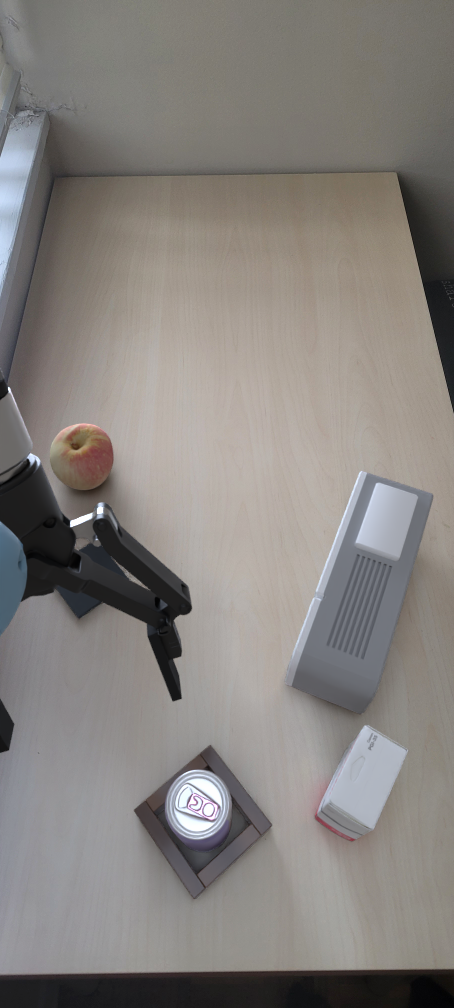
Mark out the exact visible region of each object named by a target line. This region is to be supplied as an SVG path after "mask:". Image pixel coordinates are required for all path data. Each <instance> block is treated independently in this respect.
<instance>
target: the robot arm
mask: <svg viewBox="0 0 454 1008" xmlns="http://www.w3.org/2000/svg"><path fill="white" fill-rule="evenodd" d="M33 446H34V443H33V440H32V438H31V436H30V434H29V431H28V429H27V426H26V424H25V422H24V419H23V417H22V413H21V411H20V409H19V407H18V404H17V402H16V400H15V397H14V395H13V392H12V389H11V388H10V387H9V385H8V382H7V381H6V378H5V374H4V373H3V369H2V368H1V366H0V637H1V636H2V635H3V633H4V632H5V631H6V629H7V628H8V626H9V625H10V624H11V622H12V621H13V619H14V617H15V615H16V613H17V611H18V609H19V607H20V605H21V603H23V602H24V601H26V600H27V599H29V598H31V597H42V596H43V597H44V596H48V595H50V594H54V593H55V590H56V588H57V587H58V586H60V587H63V588H65V589H67V590H69V591H71V592H73V593H76V594H78V593H84V594H86V595H88V596H90V597H92V598H95V599H97V600H99V601H101V602H102V604H105V605H107V606H109V607H111V608H113V609H115V610H117V611H119V612H122V613H123V614H126V615H128V616H130V617H132V618H134V619H136V620H138V621H140V622H142V623H145V624H146V637H147V639H148V642H149V645H150V647H151V650H152V652H153V656H154V658H155V661H156V662H157V665H158V668H159V670H160V673H161V675H162V679H163V681H164V683H165V686H166V689H167V691H168V693H169V696H170V699H171V702H173V703H174V702H177V701H180V700H183V695H182V686H181V679H180V674H179V671H178V668H177V665H176V663H175V659H178V658H181V657H183V646H182V639H181V636H180V633H179V630H178V627H177V625H176V622H175V620H176V619H177V618H178V617H179V616H187V615H189V614H190V613H191V612H193V611H192V610H193V604H192V599H191V594H190V593H191V591H190V587H189V585H188V584H187V583H185V582H184V580H182V579H181V578H180V577H179V576H178V575H176V574H175V573H174V572H173V571H172V570H171V569H170V568H168V567H167V566H166V565H165V564H164V563H163V562H162V561H161V560H160V559H158V557H156V556H155V555H154V554H153V553H151V551H150V550H148V549H147V548H146V547H145V546H144V545H143V544H141V543H140V542H139V541H138V539H136V538H135V537H133V535H132V534H130V533H129V532H128V531H127V530H126V529H124V528H123V526H121V524H120V522H119V520H118V517H117V516H116V513H115V511H114V510H113V508H112V506H111V505H110V504H109V503H107V502H105V501H104V502H98V503H97V504H95V506H94V508H93V512H90V513H87V514H85V515H82V516H80V517H78V518H76V519H72V520H71V519H70V518H69V517H67V515H65V514H64V512H63V511H62V509H61V508H60V505H59V503H58V500H57V498H56V495H55V493H54V491H53V488H52V486H51V483H50V480H49V478H48V475H47V474H46V471H45V469H44V466H43V464H42V461H41V459H40V458H39V457H38V456H37V455H35V454H33V453H31V452H32V450H33ZM79 539H85V540H87V541H88V542H89V543H92V544H93V545H94V546H96V547H99V546H101V545H102V546H103V548H104V549H105V551H106V552H107V553H108V554H109V555H110V556H111V557H112V559H113V560H114V561H115V562H116V563H117V564H118V565H120V566H121V567H122V568H123V569H124V570H125V571H127V572H128V573H129V574H130V575H132V577H134V578H135V579H136V580H137V581H139V583H141V584H142V585H143V586H142V585H141V584H139V583H136V582H134V581H132V580H130V578H129V579H127V578H125V577H123V576H121V575H119V574H117V573H115V572H113V571H111V570H109V569H107V568H105V567H103V566H101V565H99V564H97V563H95V562H93V561H92V560H91V559H90V557H89V556H88V555H86V554H84V553H82V552H80V551H79V549H76V545H77V540H79ZM68 566H69V567H70V568H71V569H72V570H71V569H69V568H68ZM14 729H15V722H14V720H13V719H12V717H11V715H10V713H9V711H8V709H7V708H6V706H5V704H4V702H3V700H2V699H1V698H0V754H2V753H5V752H9V751H10V748H11V744H12V739H13V734H14Z"/></svg>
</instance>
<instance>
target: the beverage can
mask: <svg viewBox="0 0 454 1008" xmlns="http://www.w3.org/2000/svg"><path fill="white" fill-rule="evenodd" d="M164 814H165V819H166V821H167V824H168V826H169V828H170V829H171V831H172V833H174V835H175V836H176V837H177V838H178V839H179V840H180V841H181V842H182V843H183V845H185V846H186V847H187V848H188V849H190V850H192V851H194V852H198V853H207V852H212V851H214V850H216V849H218V848H219V847H221V846H222V845H223V844H224V842H225V841H226V840H227V838H228V837H229V835H230V831H231V827H232V816H233V815H232V814H233V802H232V800H231V795H230V792H229V790H228V788H227V786H226V784H225V783H224V781H223V780H222V779H221V778H220V777H218V776H217V775H216V774H214V773H212V772H210V771H206V770H192V771H189V772H186V773H184V774H182V775H181V776H179V777H178V778H177V779H176V780H175V781H174V782H173V784H172V785H171V787H170V788H169V790H168V793H167V796H166V800H165V809H164Z"/></svg>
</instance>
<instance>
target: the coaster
mask: <svg viewBox="0 0 454 1008" xmlns="http://www.w3.org/2000/svg"><path fill="white" fill-rule="evenodd" d="M78 551H80V552H82V553H84V554H86V555H88V556H89V557H90V559H91V560H92V561H93V562H95V563H97V564H99V565H101V566H103V567H105V568H107V569H109V570H111V571H113V572H115V573H117V574H119V575H121V576H123V577H125V578H127V579H129V580H130V578H129V577H128V576H127V575H126V573H125V572H124V571H123V570H122V568H121V567H120V566H119V564H118V563H117V562H116V561H115V560H114V559H113V558H112V557H111V556H110V555H109V554H108V553H107V552H106V551H105V549H104V548H103V546H102V545H101V546H99V547H96V546H94V545H93V544H92V543H90V542H89V543H87V545H84V546H83V547H81V548H80V549H78ZM68 568H69V569H71V568H70V567H69V566H68ZM71 570H72V569H71ZM55 590H57V592H58V594H60V596H61V597H62V599H63V600H64V601H65V603H66V604H67V605H68V607H69V608H70V609H71V611H72V613H74V615H75V617H77V619H78V620H80V619H81V618H83V617H84V616H85V615H86V614H89V613H90V612H91V611H92V610H94V609H95V608H97V607H98V606H100V605H101V604H103V602H101V601H99V600H97V599H95V598H92V597H90V596H88V595H86V594H84V593H78V594H76V593H73V592H71V591H69V590H67V589H65V588H63V587H60V586H58V587H57V588H55Z"/></svg>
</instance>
